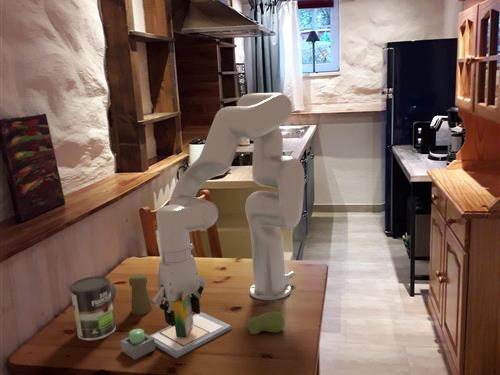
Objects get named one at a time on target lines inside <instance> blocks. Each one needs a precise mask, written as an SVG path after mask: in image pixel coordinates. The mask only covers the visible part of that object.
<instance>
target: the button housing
mask: <svg viewBox="0 0 500 375" xmlns="http://www.w3.org/2000/svg"><path fill="white" fill-rule="evenodd" d="M144 338H145V341H144V342H142V343H140V344H137V345H135V346H134V345H132V344H131V343H130V338H129V336H128V337H126V338H123V339H122V340H120V347H121V352H123V353H124V354H125V355H127V356H128V357H130V358H132V359H133V360H134V361H135V360H138V359H139V358H141V357H143V356H145V355H148V354H149V353H151V352H153V351H155V350H156V346H155V342H154V338H152V337H150V335H149V334H147V333H146V332H144Z"/></svg>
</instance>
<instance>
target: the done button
mask: <svg viewBox="0 0 500 375" xmlns="http://www.w3.org/2000/svg"><path fill="white" fill-rule="evenodd" d="M144 333H145V331H144V329H141V328H135V329H132V330H130V331H129V332H128V337H129V338H130V343H131V344H132V345H134V346H135V345H137V344H140V343H142V342H144V341H145V338H144Z"/></svg>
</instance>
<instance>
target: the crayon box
mask: <svg viewBox="0 0 500 375" xmlns="http://www.w3.org/2000/svg"><path fill="white" fill-rule="evenodd" d="M181 296H182V298H181V299H179V300H176V301H174V302H173V308H172V311H174V316H175V330H176V337H187V335H188V333H189V331H190V329H191V327H192V325H193V323H194V322H193V315H194V314H193V312H192V307H191V299H190V297H191V295H188V296H185V297H184V292H183V293H182V295H181Z"/></svg>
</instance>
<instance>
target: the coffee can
mask: <svg viewBox="0 0 500 375" xmlns="http://www.w3.org/2000/svg"><path fill="white" fill-rule="evenodd" d="M110 284H111V280H110V278H108V277H107V276H100V275H99V276H98V275H95V276H88V277H84V278H81V279H78V280H76V281H74V282H72V283H71V284H70V286H69V290H70V293H71V301H72V307H73V313H74V319H75V326H76V330H77V333H76V334H77V337H78V339H79V340H82V341H87V342H88V341H89V342H90V341H99V340H100V339H101V340H102V339H104V338H107V337H109V336H111V335H110V334H113V333H114V332H115V331H116V330H117V327H116V326H117V325H116V321H115V320H116V319H115V314H114V305H113V302H112V298H111V291H110Z"/></svg>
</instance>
